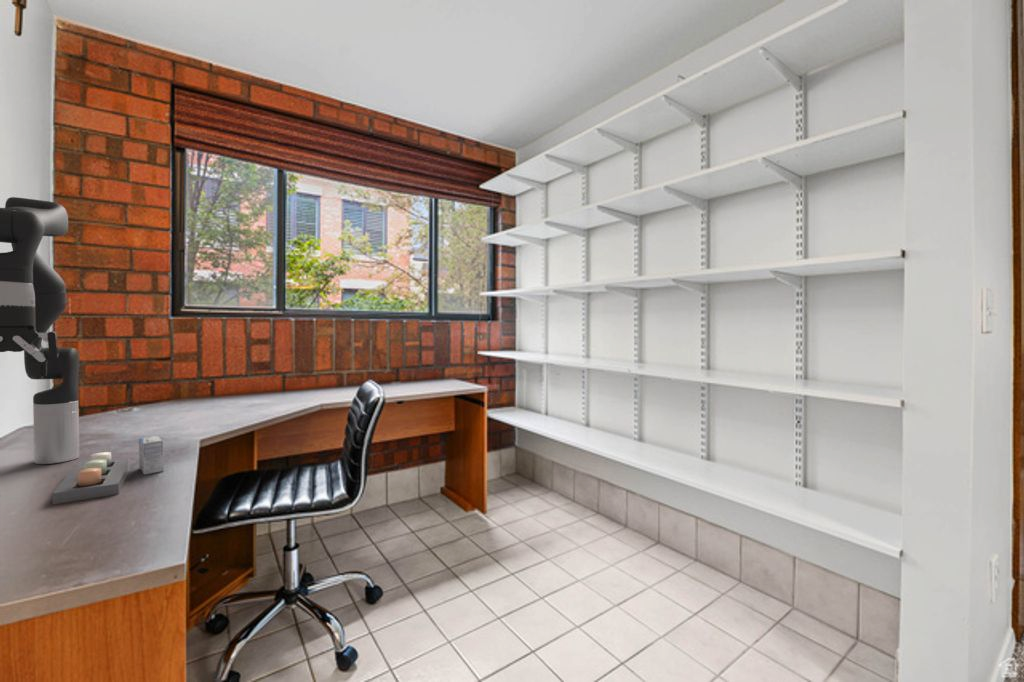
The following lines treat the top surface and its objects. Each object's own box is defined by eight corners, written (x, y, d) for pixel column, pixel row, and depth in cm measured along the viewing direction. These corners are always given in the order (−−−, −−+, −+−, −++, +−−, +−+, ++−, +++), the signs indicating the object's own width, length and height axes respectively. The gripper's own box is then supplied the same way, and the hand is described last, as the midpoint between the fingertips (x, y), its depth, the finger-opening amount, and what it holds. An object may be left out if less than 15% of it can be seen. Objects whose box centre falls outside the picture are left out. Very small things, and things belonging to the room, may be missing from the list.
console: (75, 474, 117) (75, 465, 117) (130, 467, 124) (130, 458, 124) (52, 504, 98) (52, 493, 98) (118, 494, 104) (118, 483, 104)
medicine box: (164, 471, 121) (163, 440, 120) (143, 475, 117) (142, 443, 117) (159, 465, 126) (158, 435, 126) (138, 468, 123) (138, 438, 123)
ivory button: (92, 464, 117) (92, 453, 117) (112, 462, 120) (112, 451, 120) (89, 468, 114) (89, 457, 114) (110, 465, 117) (109, 454, 117)
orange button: (79, 482, 105) (79, 469, 104) (102, 478, 107) (102, 466, 107) (76, 487, 101) (76, 474, 101) (99, 483, 104) (99, 471, 104)
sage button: (86, 472, 111) (86, 461, 111) (107, 469, 113) (107, 458, 113) (83, 477, 108) (83, 465, 108) (105, 474, 110) (105, 462, 110)
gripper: (59, 306, 100) (60, 376, 101) (-40, 303, 91) (-38, 380, 91) (55, 305, 94) (56, 380, 95) (-51, 301, 85) (-49, 384, 85)
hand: (10, 380), depth 93 cm, fingers open, 8 cm apart
